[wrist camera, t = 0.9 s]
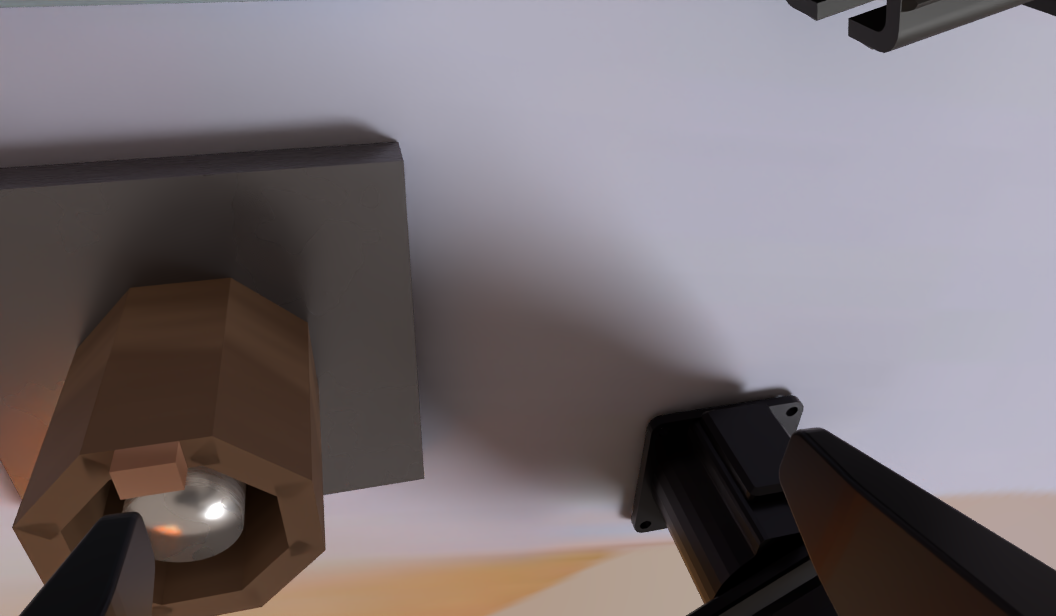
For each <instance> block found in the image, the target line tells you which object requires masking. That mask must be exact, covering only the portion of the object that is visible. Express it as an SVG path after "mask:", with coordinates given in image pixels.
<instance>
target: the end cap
mask: <svg viewBox="0 0 1056 616" xmlns="http://www.w3.org/2000/svg"><path fill="white" fill-rule="evenodd" d="M786 1H787V2H788V4H789V5H790V6H792V7H793V8H795V9H797V10H799V11H801V12H803V13H805V14H806V15H808V16H809V17H811V18H812V19H814V20H816V21H817V20H820V19H823V18H826V17H828V16H831V15H834V14H837V13H840V12H843V11H845V10H848V9H851V8H854V7H857V6H860V5H863V4H865V3H868V2H871V1H874V0H786ZM1021 4H1022V5H1025V6H1028V7H1031V8H1034V9H1036V10H1039V11H1042V12H1045V13H1048V14H1051V15H1054V16H1056V0H887V5H885V6H882V7H880V8H877V9H874V10H871V11H868V12H865V13H863V14H860V15H857V16H854V17H851V18H849V27H848V36H850V37H851V38H853V39H855V40H857V41H859V42H861V43H863V44H864V45H866V46H867V47H869V48H870V49H875V50H877V51H879V52H883V53H885V52H889V51H892V50H895V49H897V48H900V47H903V46H906V45H909V44H911V43H914V42H917V41H920V40H923V39H926V38H928V37H931V36H934V35H937V34H940V33H942V32H945V31H948V30H951V29H954V28H957V27H959V26H962V25H965V24H968V23H971V22H973V21H976V20H979V19H982V18H985V17H987V16H990V15H993V14H996V13H999V12H1002V11H1004V10H1007V9H1010V8H1013V7H1016V6H1018V5H1021Z"/></svg>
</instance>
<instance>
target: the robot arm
mask: <svg viewBox="0 0 1056 616" xmlns="http://www.w3.org/2000/svg"><path fill="white" fill-rule="evenodd" d="M802 412H803V405H802V403H801V402H800V401H799V399H798V398H797V397H796V396H784V397H778V398H771V399H765V400H758V401H752V402H746V403H739V404H733V405H726V406H720V407H713V408H707V409H700V410H694V411H687V412H681V413H674V414H668V415H662V416H658V417H656V418H654V419H652V420H651V422H650V423H649V424H648V427H647V433H646V438H645V444H644V450H643V455H642V461H641V467H640V473H639V478H638V484H637V490H636V495H635V501H634V507H633V513H632V518H631V521H632V524H633V527H634V529H635V530H636V531H637V532H640V533H642V532H649V531H654V530H659V529H665V528H668V530H669V532H670V534H671V536H672V538H673V540H674V542H675V544H676V546H677V548H678V550H679V552H680V554H681V557H682V559H683V561H684V563H685V565H686V567H687V569H688V571H689V573H690V575H691V577H692V579H693V582H694V584H695V586H696V588H697V590H698V592H699V594H700V596H701V598H702V600H703V602H704V605H702V606H701V607H699V608H698V609H696V610H694V611H693V612H691V613H689V614H688V615H686V616H1056V570H1054V569H1053V568H1051V567H1049V566H1047V565H1046V564H1044V563H1043V562H1041V561H1040V560H1038V559H1036V558H1034V557H1033V556H1031V555H1030V554H1028V553H1026V552H1025V551H1023V550H1022V549H1020V548H1018V547H1017V546H1015V545H1013V544H1012V543H1010V542H1008V541H1007V540H1005V539H1004V538H1002V537H1000V536H999V535H997V534H995V533H994V532H992V531H990V530H989V529H987V528H986V527H984V526H982V525H981V524H979V523H977V522H976V521H974V520H972V519H971V518H969V517H968V516H966V515H964V514H963V513H961V512H959V511H958V510H956V509H954V508H953V507H951V506H950V505H948V504H946V503H945V502H943V501H941V500H940V499H938V498H937V497H935V496H933V495H932V494H930V493H928V492H927V491H925V490H923V489H922V488H920V487H919V486H917V485H915V484H914V483H912V482H910V481H909V480H907V479H905V478H904V477H902V476H901V475H899V474H897V473H896V472H894V471H892V470H891V469H889V468H887V467H886V466H884V465H883V464H881V463H879V462H878V461H876V460H874V459H873V458H871V457H869V456H868V455H866V454H865V453H863V452H861V451H860V450H858V449H856V448H855V447H853V446H851V445H850V444H848V443H847V442H845V441H843V440H842V439H840V438H838V437H837V436H835V435H833V434H832V433H830V432H829V431H827V430H825V429H823V428H808V429H800V430H797V427H798V424H799V421H800V418H801V415H802ZM661 428H662V429H661ZM796 430H797V431H796ZM154 578H155V559H154V553H153V550H152V546H151V543H150V540H149V537H148V533H147V530H146V527H145V524H144V521H143V518H142V516H141V515H140V514H139V513H138V512H134V511H133V512H124V513H116V514H109V515H105V516H103V517H101V518H100V519H99V520H98V521H97V522H96V523H95V524H94V525H93V527H92V528H91V529H90V530H89V532H88V533H87V534H86V535H85V536H84V538H83V539H82V540H81V541H80V542H79V544H78V545H77V546H76V547H75V548H74V550H73V551H72V552H71V553H70V555H69V556H68V557H67V558H66V559H65V561H64V562H63V563H62V564H61V565H60V567H59V568H58V569H57V570H56V572H55V573H54V574H53V575H52V576H51V578H50V579H49V580H48V581H47V582H46V584H45V585H44V586H43V587H42V588H41V590H40V591H39V592H38V593H37V595H36V596H35V597H34V598H33V599H32V601H31V602H30V603H29V604H28V605H27V607H26V608H25V609H24V610H23V612H22V613H21V614H20V615H19V616H152V604H153V591H154Z"/></svg>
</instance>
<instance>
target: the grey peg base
mask: <svg viewBox="0 0 1056 616" xmlns="http://www.w3.org/2000/svg"><path fill="white" fill-rule="evenodd" d="M243 1H282V0H0V8H10V7H49V6H88V5H127V4H166V3H205V2H243Z"/></svg>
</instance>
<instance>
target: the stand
mask: <svg viewBox="0 0 1056 616" xmlns="http://www.w3.org/2000/svg"><path fill="white" fill-rule="evenodd" d="M222 278H232V279H234V280H236V281H237V282H239V283H241V284H243V285H244V286H246V287H248V288H249V289H251V290H253V291H254V292H256V293H258V294H260V295H261V296H263V297H265V298H266V299H268V300H270V301H272V302H273V303H275V304H277V305H278V306H280V307H282V308H284V309H285V310H287V311H289V312H290V313H292V314H294V315H295V316H297V317H299V318H301V319H302V320H304V321H306V322H308V328H309V334H310V339H311V345H312V351H313V357H314V363H315V369H316V375H317V381H318V387H319V406H320V430H321V454H322V479H323V495H326V494H332V493H339V492H345V491H351V490H357V489H363V488H369V487H376V486H382V485H388V484H394V483H400V482H406V481H413V480H419V479H424V468H423V453H422V438H421V423H420V407H419V392H418V377H417V362H416V346H415V331H414V316H413V300H412V285H411V270H410V255H409V239H408V224H407V209H406V194H405V178H404V163H403V158H402V154H401V150H400V147H399V143H398V142H391V143H376V144H361V145H346V146H330V147H315V148H300V149H285V150H270V151H255V152H240V153H225V154H210V155H195V156H180V157H165V158H150V159H135V160H120V161H105V162H89V163H74V164H59V165H44V166H29V167H14V168H0V459H1V461H2V463H3V465H4V467H5V469H6V471H7V473H8V474H9V476H10V478H11V480H12V482H13V484H14V486H15V488H16V490H17V491H18V493H19V495H20V497H21V499H23V496H24V493H25V491H26V488H27V485H28V482H29V480H30V477H31V474H32V471H33V468H34V466H35V463H36V460H37V457H38V455H39V452H40V449H41V446H42V443H43V441H44V438H45V435H46V432H47V430H48V427H49V424H50V421H51V418H52V416H53V413H54V410H55V407H56V405H57V402H58V399H59V396H60V393H61V391H62V388H63V385H64V382H65V380H66V377H67V374H68V371H69V368H70V366H71V363H72V360H73V357H74V355H75V352H76V349H77V348H78V347H79V346H80V345H81V343H82V342H83V341H84V340H85V339H86V338H87V337H88V335H89V334H90V333H91V332H92V331H93V330H94V329H95V327H96V326H97V325H98V324H99V323H100V322H101V320H102V319H103V318H104V317H105V316H106V315H107V314H108V312H109V311H110V310H111V309H112V308H113V307H114V306H115V304H116V303H117V302H118V301H119V300H120V299H121V297H122V296H123V295H124V294H125V293H126V292H127V291H128V289H129V288H132V287H142V286H152V285H162V284H172V283H182V282H192V281H202V280H212V279H222ZM245 497H246V483H244V482H241V481H239V480H236V479H234V478H232V477H229V476H227V475H225V474H222V473H220V472H217V471H215V470H213V469H210V468H208V467H205V466H198V467H192V468H188V470H187V477H186V484H185V490H180V491H174V492H168V493H161V494H155V495H148V496H142V497H135V498H129V499H125V502H124V506H123V511H122V513H124V512H133V511H134V512H138V513H139V514H140V515H141V516H142V518H143V521H144V524H145V527H146V530H147V533H148V537H149V540H150V543H151V546H152V550H153V553H154V559H155V560H160V561H166V562H191V561H197V560H202V559H206V558H209V557H212V556H214V555H217V554H219V553H221V552H223V551H224V550H226V549H227V548H229V547H230V546H231V545H233V544H234V543H235V542H236V540H237V539H238V538H239V536H240V535H241V533H242V530H243V527H244V513H245Z"/></svg>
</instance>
